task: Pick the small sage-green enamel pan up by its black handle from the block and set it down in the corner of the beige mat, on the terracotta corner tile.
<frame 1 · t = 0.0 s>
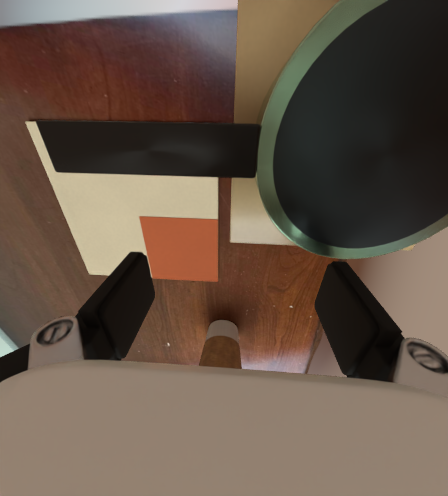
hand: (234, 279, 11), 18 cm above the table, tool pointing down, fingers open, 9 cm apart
coffee cup: (223, 328, 40), on the table
mat: (141, 214, 28), on the table
block: (289, 136, 22), on the table
pan: (348, 147, 10), point 14 cm above the table, touching block
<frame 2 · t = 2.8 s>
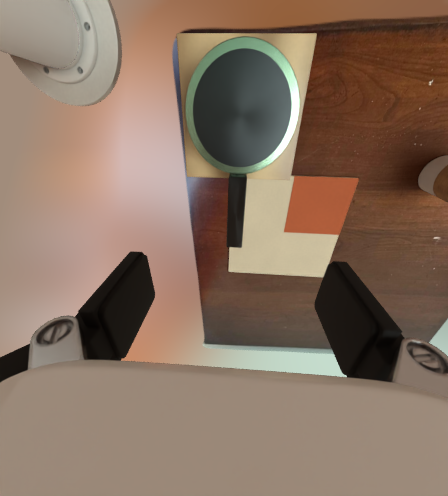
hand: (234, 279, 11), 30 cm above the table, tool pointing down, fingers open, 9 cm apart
coffee cup: (436, 173, 34), on the table
mat: (283, 230, 41), on the table
block: (240, 121, 32), on the table
pan: (241, 116, 20), point 14 cm above the table, touching block
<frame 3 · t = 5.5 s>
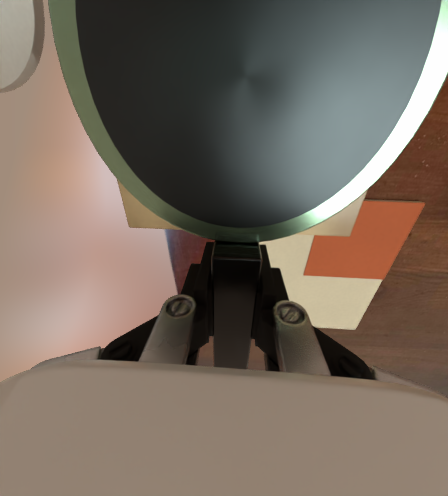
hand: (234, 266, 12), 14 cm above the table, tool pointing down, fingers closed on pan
mat: (302, 272, 29), on the table
block: (240, 114, 20), on the table
pan: (243, 93, 8), point 14 cm above the table, touching gripper, block
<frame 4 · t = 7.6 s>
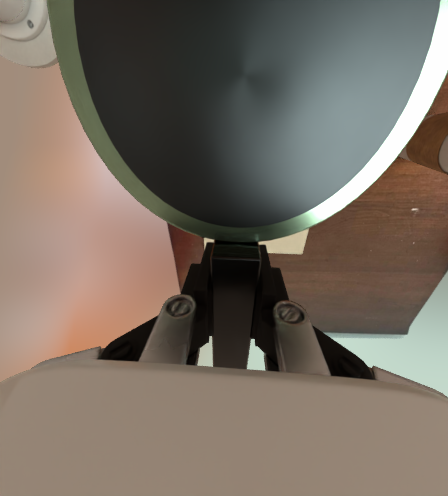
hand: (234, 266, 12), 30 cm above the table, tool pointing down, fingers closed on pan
coffee cup: (411, 138, 33), on the table
mat: (257, 204, 40), on the table
pan: (243, 93, 8), point 29 cm above the table, touching gripper
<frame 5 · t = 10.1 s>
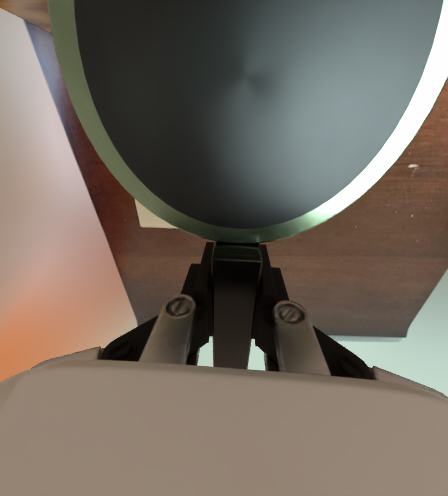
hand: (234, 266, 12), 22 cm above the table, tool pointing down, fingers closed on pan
mat: (200, 160, 30), on the table
pan: (244, 93, 8), point 22 cm above the table, touching gripper
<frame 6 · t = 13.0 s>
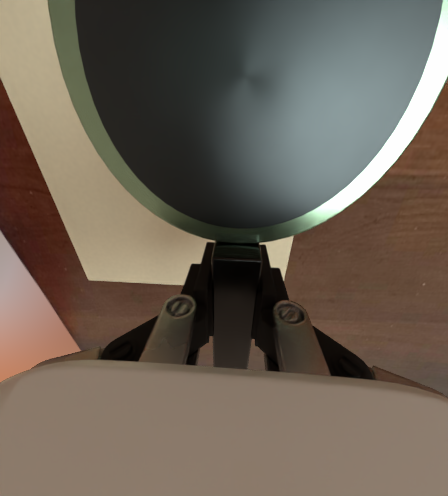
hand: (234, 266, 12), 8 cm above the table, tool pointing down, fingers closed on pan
mat: (172, 184, 17), on the table
pan: (244, 94, 8), point 8 cm above the table, touching gripper
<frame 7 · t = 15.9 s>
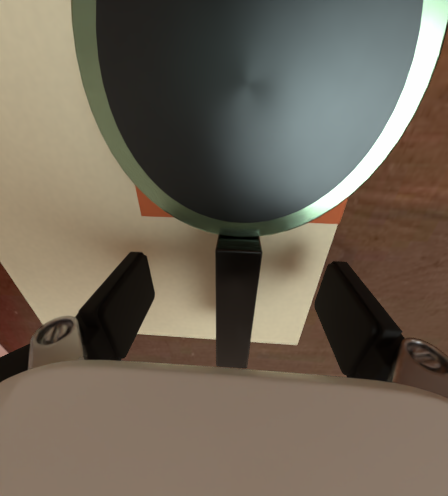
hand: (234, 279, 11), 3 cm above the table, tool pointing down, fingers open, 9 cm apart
mat: (146, 211, 12), on the table
pan: (245, 98, 8), point 1 cm above the table, touching mat
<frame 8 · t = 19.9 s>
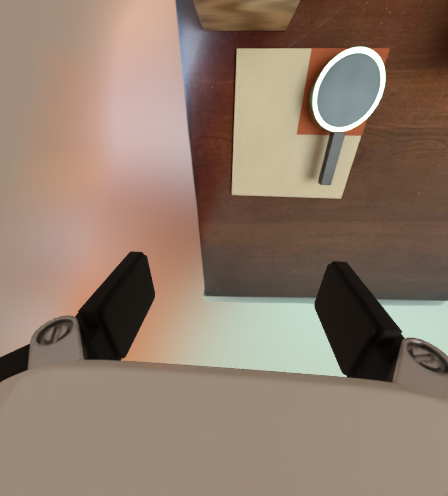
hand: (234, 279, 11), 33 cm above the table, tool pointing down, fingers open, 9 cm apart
mat: (295, 134, 36), on the table
pan: (339, 95, 32), point 1 cm above the table, touching mat
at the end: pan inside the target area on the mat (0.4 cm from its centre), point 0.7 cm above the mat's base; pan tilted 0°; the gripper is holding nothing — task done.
